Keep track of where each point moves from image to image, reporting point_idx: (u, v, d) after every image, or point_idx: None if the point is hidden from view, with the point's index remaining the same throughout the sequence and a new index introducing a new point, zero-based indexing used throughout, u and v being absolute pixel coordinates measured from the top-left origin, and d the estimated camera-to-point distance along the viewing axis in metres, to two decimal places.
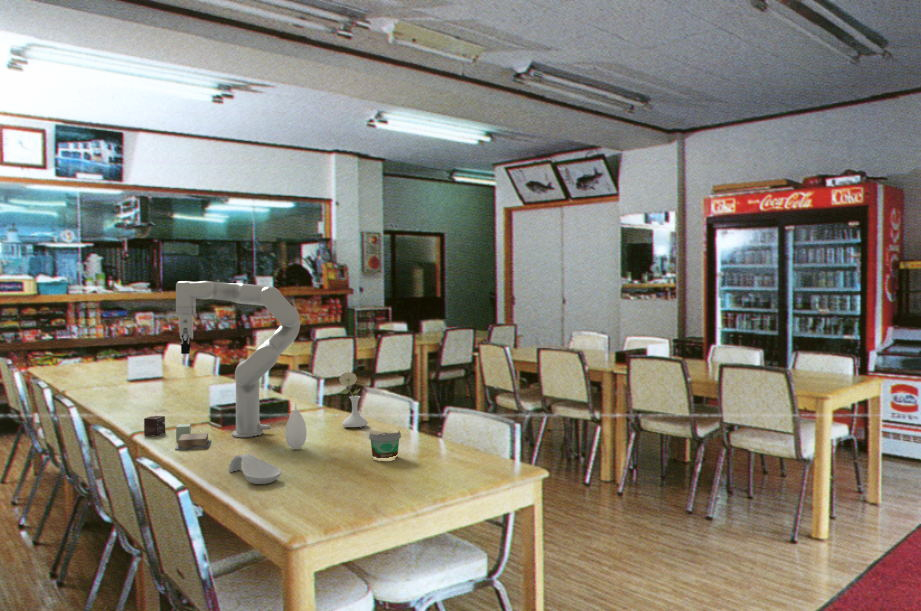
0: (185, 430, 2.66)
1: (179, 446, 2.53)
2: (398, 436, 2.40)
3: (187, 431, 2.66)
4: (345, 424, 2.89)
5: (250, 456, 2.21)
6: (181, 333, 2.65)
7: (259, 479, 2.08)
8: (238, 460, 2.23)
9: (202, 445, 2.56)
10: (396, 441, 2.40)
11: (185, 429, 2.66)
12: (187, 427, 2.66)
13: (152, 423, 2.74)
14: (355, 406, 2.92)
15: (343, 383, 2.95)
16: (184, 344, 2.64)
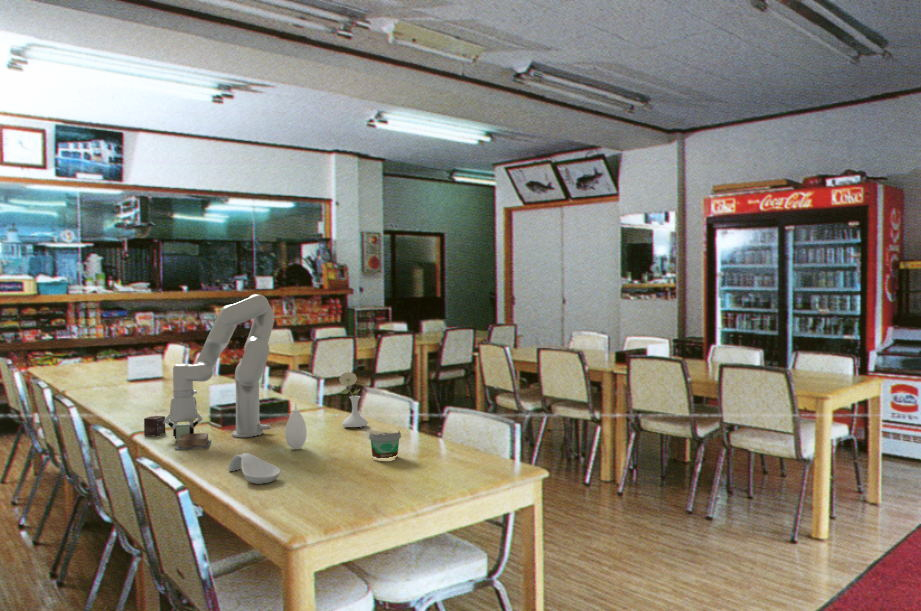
0: (185, 430, 2.66)
1: (179, 446, 2.53)
2: (398, 436, 2.40)
3: (187, 431, 2.66)
4: (345, 424, 2.89)
5: (250, 455, 2.21)
6: (195, 415, 2.68)
7: (258, 479, 2.09)
8: (238, 459, 2.24)
9: (202, 445, 2.56)
10: (396, 441, 2.40)
11: (185, 429, 2.66)
12: (187, 427, 2.66)
13: (152, 423, 2.74)
14: (355, 406, 2.92)
15: (343, 383, 2.95)
16: (193, 428, 2.69)
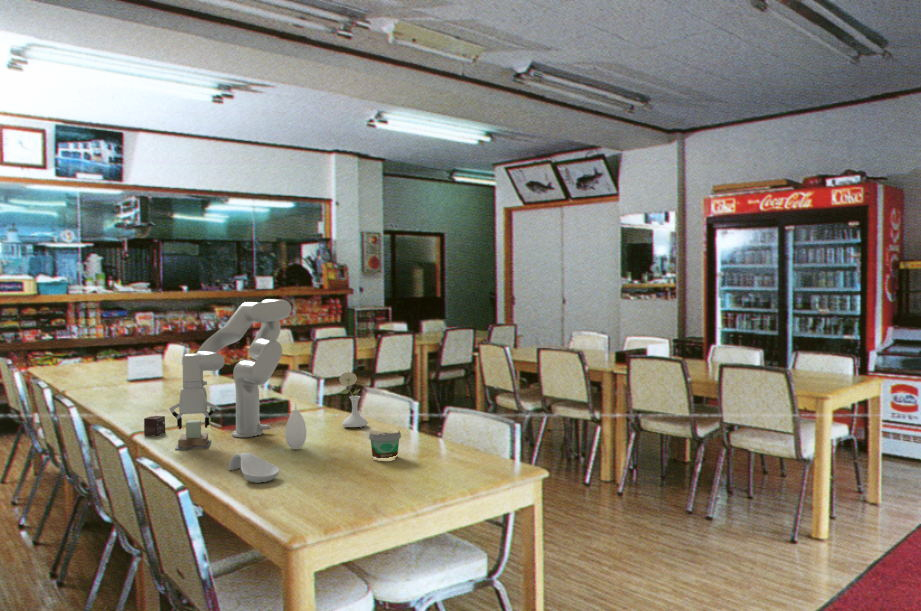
0: (195, 426, 2.57)
1: (179, 446, 2.53)
2: (398, 436, 2.40)
3: (197, 427, 2.57)
4: (345, 424, 2.89)
5: (249, 455, 2.23)
6: (206, 407, 2.59)
7: (257, 477, 2.10)
8: (237, 458, 2.25)
9: (202, 445, 2.56)
10: (396, 441, 2.40)
11: (195, 425, 2.57)
12: (197, 423, 2.57)
13: (152, 423, 2.74)
14: (355, 406, 2.92)
15: (343, 383, 2.95)
16: None
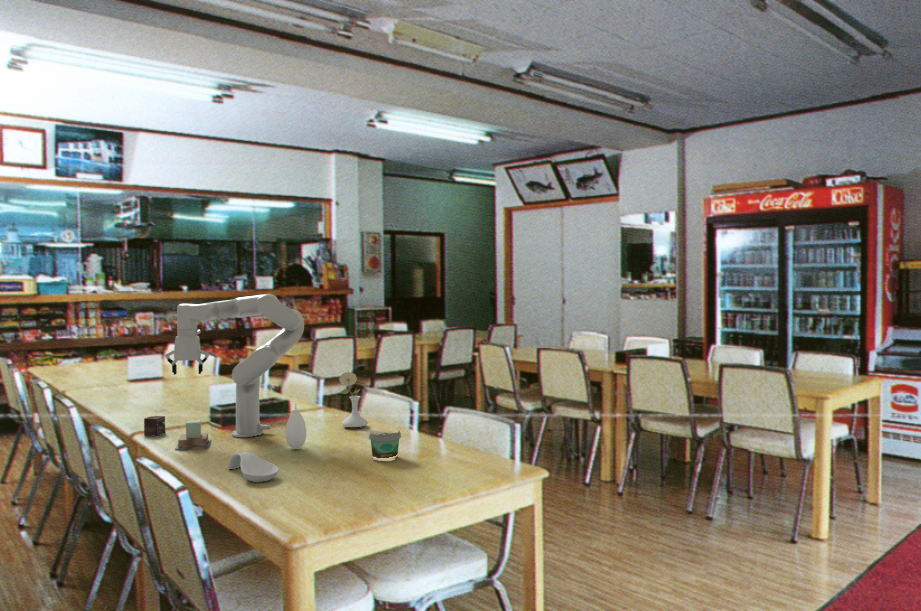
0: (195, 426, 2.57)
1: (179, 446, 2.53)
2: (398, 436, 2.40)
3: (197, 427, 2.57)
4: (345, 424, 2.89)
5: (249, 454, 2.23)
6: (199, 354, 2.73)
7: (256, 477, 2.10)
8: (237, 458, 2.26)
9: (202, 445, 2.56)
10: (396, 441, 2.40)
11: (195, 425, 2.57)
12: (197, 423, 2.57)
13: (152, 423, 2.74)
14: (355, 406, 2.92)
15: (343, 383, 2.95)
16: (202, 364, 2.75)
